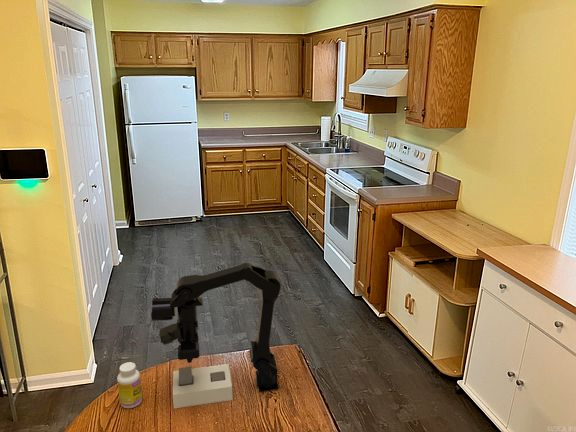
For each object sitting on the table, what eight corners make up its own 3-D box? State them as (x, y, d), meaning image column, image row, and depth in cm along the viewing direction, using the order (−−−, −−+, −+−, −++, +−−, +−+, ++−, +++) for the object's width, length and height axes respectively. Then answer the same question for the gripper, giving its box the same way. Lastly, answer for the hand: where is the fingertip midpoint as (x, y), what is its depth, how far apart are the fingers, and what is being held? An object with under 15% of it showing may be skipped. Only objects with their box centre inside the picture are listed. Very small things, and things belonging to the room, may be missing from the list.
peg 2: (224, 384, 149) (223, 371, 148) (225, 392, 146) (224, 379, 144) (211, 386, 149) (211, 373, 147) (212, 394, 145) (211, 380, 143)
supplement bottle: (135, 410, 138) (131, 374, 134) (116, 407, 139) (111, 372, 135) (146, 396, 144) (142, 361, 140) (127, 393, 145) (123, 359, 142)
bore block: (229, 376, 154) (228, 363, 152) (232, 399, 142) (232, 386, 141) (174, 383, 150) (173, 370, 148) (173, 408, 139) (172, 394, 137)
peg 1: (192, 379, 146) (191, 366, 145) (192, 387, 143) (191, 374, 141) (179, 381, 146) (178, 368, 144) (179, 389, 142) (178, 375, 140)
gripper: (161, 305, 145) (164, 348, 149) (158, 336, 127) (161, 383, 132) (197, 302, 147) (198, 344, 151) (198, 332, 130) (200, 379, 134)
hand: (189, 362), depth 142 cm, fingers closed
